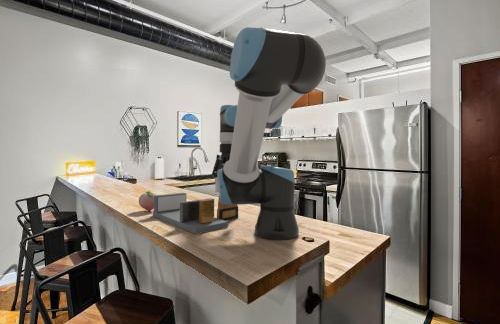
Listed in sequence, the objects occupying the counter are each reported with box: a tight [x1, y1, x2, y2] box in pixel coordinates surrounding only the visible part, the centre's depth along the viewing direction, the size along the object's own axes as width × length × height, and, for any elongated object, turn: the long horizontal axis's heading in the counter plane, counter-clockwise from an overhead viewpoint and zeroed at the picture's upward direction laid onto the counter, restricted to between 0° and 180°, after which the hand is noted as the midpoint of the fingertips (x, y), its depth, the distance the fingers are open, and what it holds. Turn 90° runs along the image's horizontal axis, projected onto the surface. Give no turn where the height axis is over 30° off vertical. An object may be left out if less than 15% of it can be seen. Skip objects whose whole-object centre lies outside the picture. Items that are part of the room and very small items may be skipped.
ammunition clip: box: [216, 195, 239, 221], centre depth 109 cm, size 11×2×12 cm, turn 137°
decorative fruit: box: [138, 191, 157, 212], centre depth 122 cm, size 9×8×10 cm
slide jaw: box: [180, 198, 215, 223], centre depth 98 cm, size 8×14×8 cm, turn 133°
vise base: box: [152, 192, 229, 235], centre depth 106 cm, size 35×14×9 cm, turn 43°
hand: (228, 194), depth 109 cm, fingers open, 13 cm apart
